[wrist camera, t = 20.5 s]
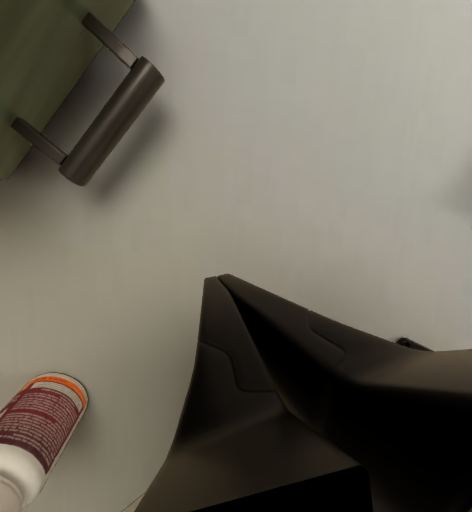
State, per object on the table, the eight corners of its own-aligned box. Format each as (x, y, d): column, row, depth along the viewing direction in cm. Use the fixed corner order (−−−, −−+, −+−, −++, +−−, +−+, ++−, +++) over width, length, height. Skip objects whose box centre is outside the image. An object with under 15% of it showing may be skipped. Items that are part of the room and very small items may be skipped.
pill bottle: (26, 365, 20) (-102, 490, 12) (93, 376, 20) (16, 500, 12) (20, 417, 21) (-100, 564, 13) (84, 425, 22) (8, 570, 13)
